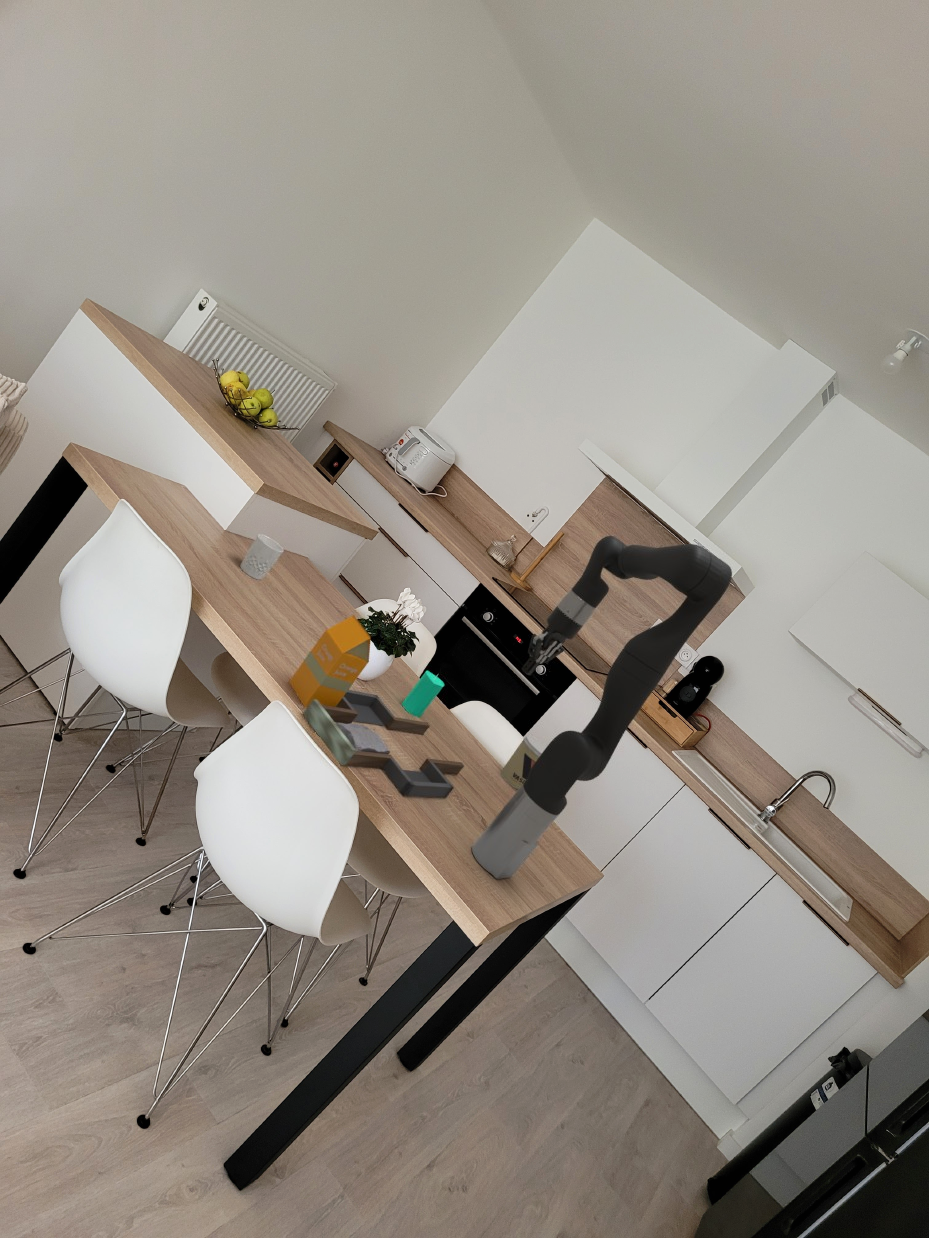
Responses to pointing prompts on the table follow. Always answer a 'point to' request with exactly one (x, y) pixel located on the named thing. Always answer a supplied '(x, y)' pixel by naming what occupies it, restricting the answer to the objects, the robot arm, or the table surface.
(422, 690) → the candle
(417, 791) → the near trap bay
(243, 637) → the table surface
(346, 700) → the tray
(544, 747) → the beige canister
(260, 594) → the table surface
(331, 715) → the corridor
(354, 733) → the stone block
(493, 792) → the table surface
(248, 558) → the white cup
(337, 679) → the orange juice
